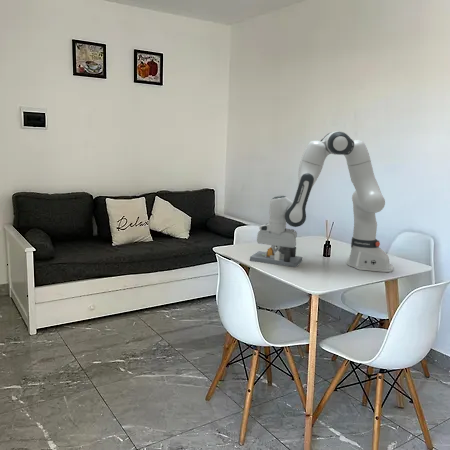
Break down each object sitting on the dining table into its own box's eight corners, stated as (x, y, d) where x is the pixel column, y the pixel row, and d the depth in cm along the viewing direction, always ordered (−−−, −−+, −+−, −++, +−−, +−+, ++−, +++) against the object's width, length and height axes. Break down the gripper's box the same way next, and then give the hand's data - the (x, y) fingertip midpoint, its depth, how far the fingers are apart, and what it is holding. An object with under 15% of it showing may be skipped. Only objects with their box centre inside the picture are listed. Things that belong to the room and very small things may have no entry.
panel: (302, 260, 238) (303, 247, 237) (295, 267, 226) (296, 253, 224) (258, 254, 247) (259, 241, 246) (249, 260, 235) (250, 247, 233)
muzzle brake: (290, 246, 269) (291, 229, 267) (293, 257, 241) (294, 238, 239) (274, 245, 269) (275, 228, 268) (274, 256, 242) (276, 237, 240)
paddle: (274, 255, 239) (274, 246, 238) (271, 256, 235) (272, 248, 234) (269, 254, 240) (270, 246, 239) (267, 256, 236) (267, 247, 235)
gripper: (298, 228, 232) (296, 255, 235) (260, 224, 240) (259, 250, 243) (295, 230, 227) (293, 258, 229) (256, 226, 234) (255, 252, 237)
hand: (275, 253), depth 236 cm, fingers closed
